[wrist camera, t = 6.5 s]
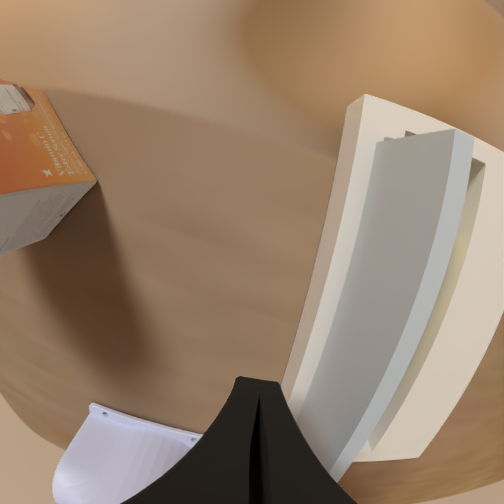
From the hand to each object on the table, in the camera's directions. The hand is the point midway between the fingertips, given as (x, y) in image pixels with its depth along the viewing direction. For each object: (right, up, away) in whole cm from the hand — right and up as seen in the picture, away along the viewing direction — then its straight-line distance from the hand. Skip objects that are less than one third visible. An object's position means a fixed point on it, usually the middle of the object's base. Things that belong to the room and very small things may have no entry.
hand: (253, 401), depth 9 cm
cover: (+4, +1, +1) cm, 4 cm away
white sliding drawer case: (+8, +1, +7) cm, 11 cm away
